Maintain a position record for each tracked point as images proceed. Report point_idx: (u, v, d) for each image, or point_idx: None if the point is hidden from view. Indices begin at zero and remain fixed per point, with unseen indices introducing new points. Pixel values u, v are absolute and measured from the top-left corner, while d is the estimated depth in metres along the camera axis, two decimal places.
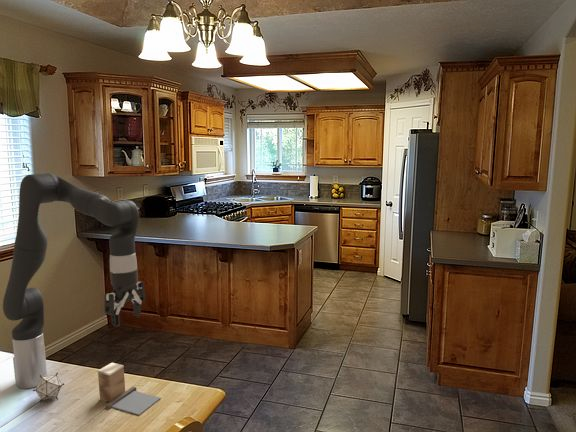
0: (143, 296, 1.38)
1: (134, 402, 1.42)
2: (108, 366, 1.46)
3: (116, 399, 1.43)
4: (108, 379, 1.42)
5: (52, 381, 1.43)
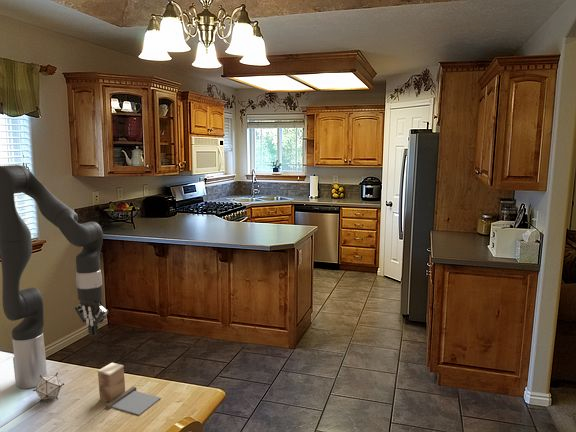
0: None
1: (134, 402, 1.42)
2: (108, 366, 1.46)
3: (116, 399, 1.43)
4: (108, 379, 1.42)
5: (52, 381, 1.43)
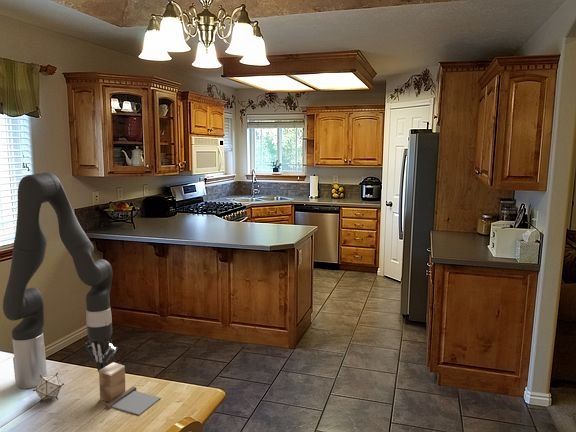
0: None
1: (134, 402, 1.42)
2: (109, 366, 1.46)
3: (116, 399, 1.43)
4: (109, 379, 1.42)
5: (52, 381, 1.43)
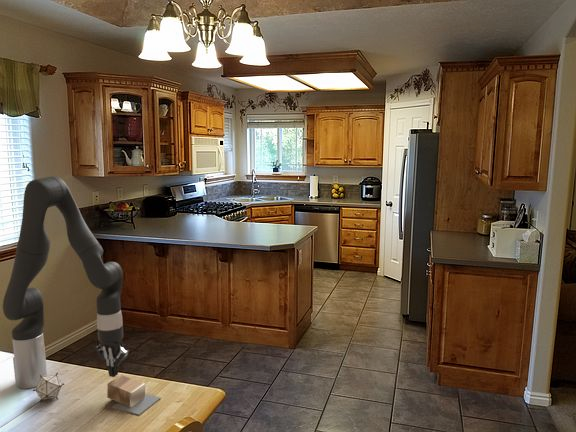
0: None
1: None
2: (139, 390, 1.42)
3: None
4: (126, 403, 1.40)
5: (52, 381, 1.43)
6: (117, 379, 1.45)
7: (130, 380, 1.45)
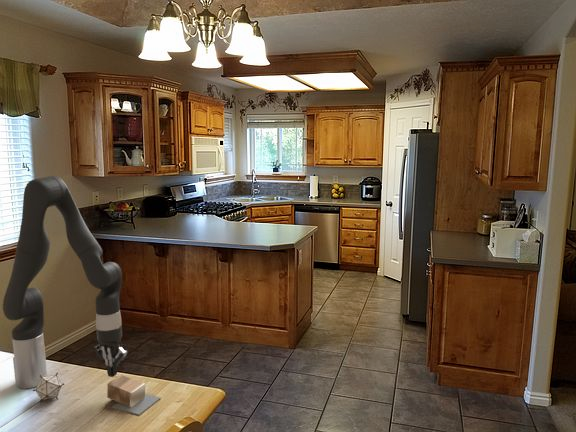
0: None
1: None
2: (139, 390, 1.42)
3: None
4: (126, 403, 1.40)
5: (52, 381, 1.43)
6: (117, 379, 1.45)
7: (130, 380, 1.45)
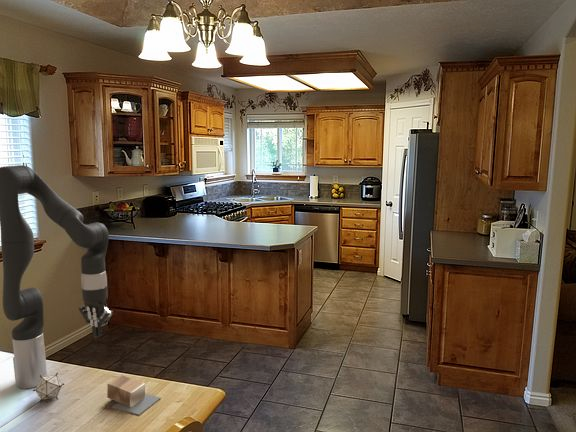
0: None
1: None
2: (139, 390, 1.42)
3: None
4: (126, 403, 1.40)
5: (52, 381, 1.43)
6: (117, 379, 1.45)
7: (130, 380, 1.45)
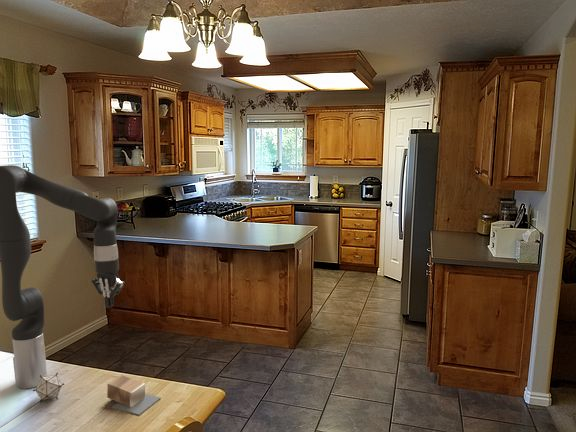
0: None
1: None
2: (139, 390, 1.42)
3: None
4: (126, 403, 1.40)
5: (52, 381, 1.43)
6: (117, 379, 1.45)
7: (130, 380, 1.45)
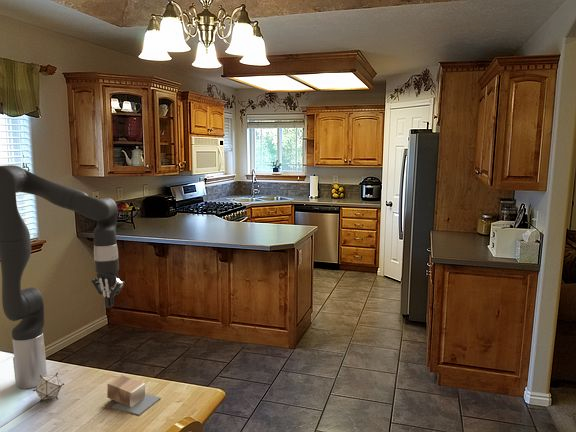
0: None
1: None
2: (139, 390, 1.42)
3: None
4: (126, 403, 1.40)
5: (52, 381, 1.43)
6: (117, 379, 1.45)
7: (130, 380, 1.45)
